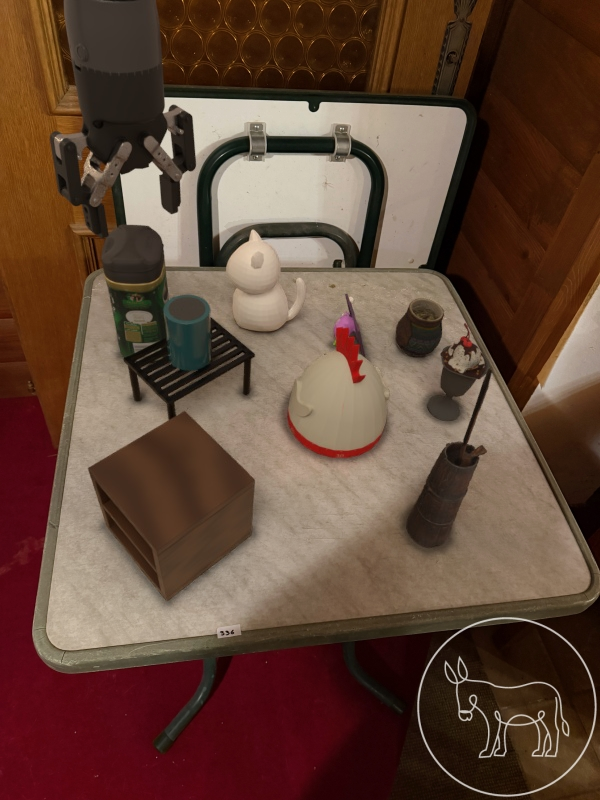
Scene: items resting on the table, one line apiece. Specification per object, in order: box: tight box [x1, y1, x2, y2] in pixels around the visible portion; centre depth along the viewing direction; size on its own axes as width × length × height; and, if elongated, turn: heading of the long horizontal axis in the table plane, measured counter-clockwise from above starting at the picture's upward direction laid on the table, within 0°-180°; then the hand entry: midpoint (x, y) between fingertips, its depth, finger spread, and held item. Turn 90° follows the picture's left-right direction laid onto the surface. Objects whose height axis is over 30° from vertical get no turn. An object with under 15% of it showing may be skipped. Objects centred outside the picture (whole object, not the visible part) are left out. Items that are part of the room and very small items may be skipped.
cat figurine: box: [225, 229, 307, 332], centre depth 87 cm, size 9×12×15 cm
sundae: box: [426, 322, 491, 422], centre depth 78 cm, size 7×7×15 cm
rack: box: [122, 317, 256, 421], centre depth 77 cm, size 14×10×8 cm
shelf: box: [87, 410, 256, 602], centre depth 61 cm, size 12×12×12 cm
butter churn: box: [406, 365, 494, 549], centre depth 59 cm, size 9×10×28 cm
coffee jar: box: [100, 224, 170, 363], centre depth 79 cm, size 10×8×19 cm
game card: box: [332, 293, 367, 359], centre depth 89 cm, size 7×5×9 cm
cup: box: [163, 294, 212, 372], centre depth 71 cm, size 6×6×8 cm
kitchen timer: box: [286, 327, 391, 459], centre depth 74 cm, size 14×14×15 cm
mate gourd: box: [395, 297, 445, 357], centre depth 88 cm, size 7×8×10 cm
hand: (136, 222), depth 60 cm, fingers open, 8 cm apart
